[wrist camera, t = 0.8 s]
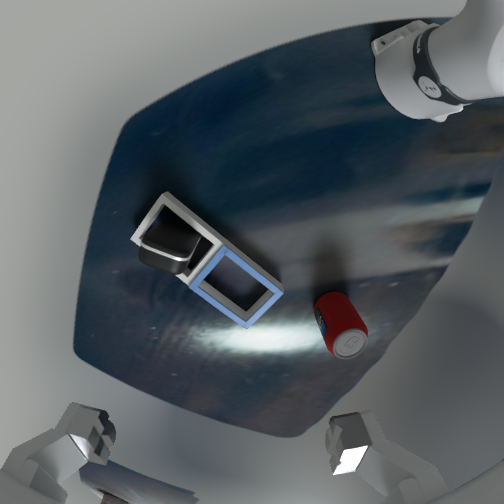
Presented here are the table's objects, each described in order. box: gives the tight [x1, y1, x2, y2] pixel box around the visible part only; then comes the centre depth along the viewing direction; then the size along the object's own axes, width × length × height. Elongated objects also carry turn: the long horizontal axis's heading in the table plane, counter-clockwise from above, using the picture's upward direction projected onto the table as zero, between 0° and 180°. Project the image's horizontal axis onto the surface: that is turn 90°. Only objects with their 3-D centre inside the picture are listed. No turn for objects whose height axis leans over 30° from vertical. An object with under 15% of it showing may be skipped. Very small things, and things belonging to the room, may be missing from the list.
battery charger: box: [138, 220, 201, 275], centre depth 40 cm, size 7×4×11 cm, turn 69°
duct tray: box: [131, 192, 284, 329], centre depth 45 cm, size 9×24×4 cm, turn 49°
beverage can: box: [314, 292, 368, 359], centre depth 44 cm, size 7×7×12 cm
